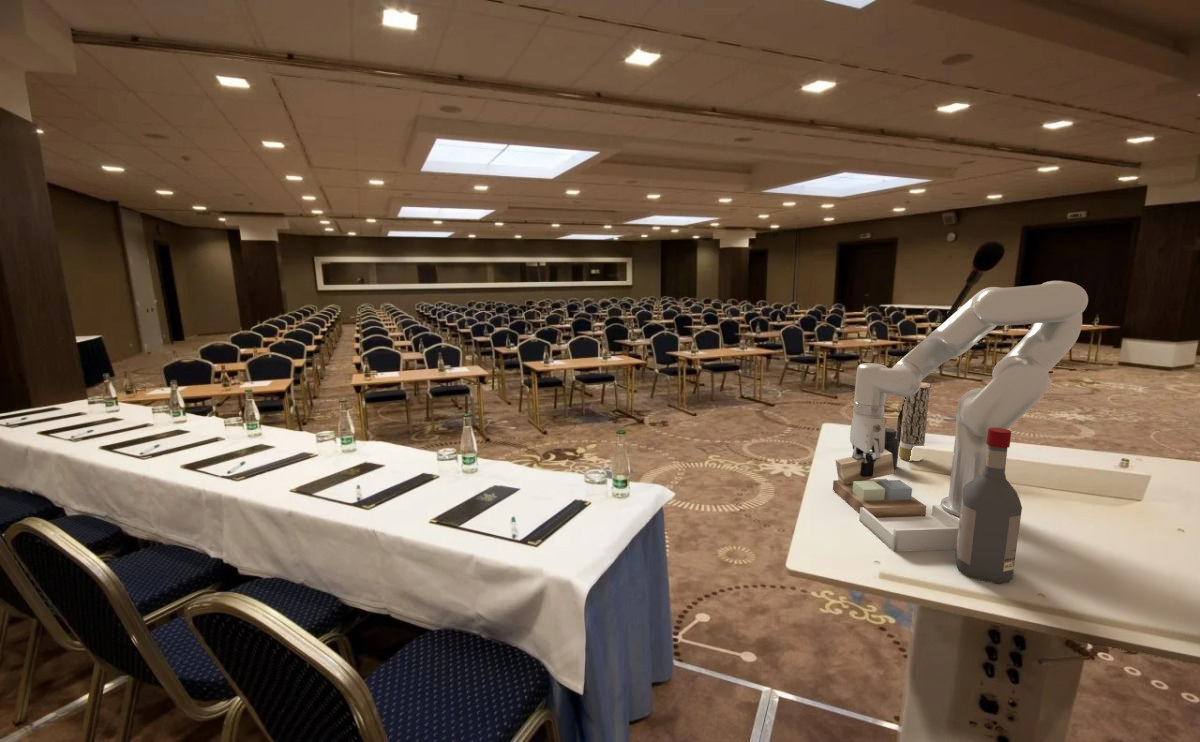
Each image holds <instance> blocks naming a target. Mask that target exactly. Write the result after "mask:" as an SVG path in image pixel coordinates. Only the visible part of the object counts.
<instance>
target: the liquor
mask: <svg viewBox="0 0 1200 742" xmlns="http://www.w3.org/2000/svg"><path fill="white" fill-rule="evenodd" d="M1011 436H1012V430H1010V429H1003V428H994V427H993V428H989V429H988V435H987V442H986V444H987V445H988V449H987V457H986V464H985V468H984V470H983V474H981V475H980V476H978V477H976V478H975V479H973V480H972V481H970V482H969V483H967V484H966V485H965V487H964V488H963V494H962V503H961V511H960V517H959V519H958V520H959V529H958V538H957V547H956V550H955V561H956V568H957V570H958V572H960V573H962V574H963V575H965V576H966V577H968V578H970V579H974V580H980V581H983V582H989V583H991V584H996V585H1002V584H1007V583H1010V582H1011V581H1012V580H1013V578H1014V570H1015V563H1016V555H1017V548H1018V547H1017V546H1018V542H1019V533H1020V528H1021V527H1020V526H1021V519H1022V511H1023V507H1022V502H1021V500H1020V496H1019V495H1018V492H1017V491H1016V490H1015V488H1014V487H1013V486H1012V484H1011V483H1010V482H1009V480H1008V479H1007V475H1006V466H1007V465H1006V464H1007V456H1008V448H1010V445H1011V438H1012V437H1011Z"/></svg>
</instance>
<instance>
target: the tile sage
mask: <svg viewBox="0 0 1200 742" xmlns="http://www.w3.org/2000/svg"><path fill="white" fill-rule="evenodd" d="M852 492H853V493H854V494H855V495H857V496H858V497H859V498H860V499H862V500H863V501H872V500H884V497H885V489H884V488H883V487H882V486H880V485H879V484H877V483H876V482H875V481H853V491H852Z"/></svg>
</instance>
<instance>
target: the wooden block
mask: <svg viewBox="0 0 1200 742" xmlns="http://www.w3.org/2000/svg"><path fill="white" fill-rule="evenodd" d="M869 456H871V454H868V457H869ZM868 457H867V458H868ZM862 462H863V453H860V454H856V455H853V454H852V455H851V456H849V457H844V458H839V459H835V464H836V465H835V466H836V471H837V472H836V474H837V480H839V481H840V482H842V483H843V484H844V485H846V484H851V483H853V481H864V480H869V479H879V478H881V477H882V478H883V477H886V476H891V475H894V474H895V469H894V466H893V458H892V453H890V452H889V451H887V450H885V449H884V452H883V453H880V459H877V460H876V461H875V463H874V469H873V476H872V477H862V476H861V475H860V474H861V463H862Z"/></svg>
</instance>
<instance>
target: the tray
mask: <svg viewBox="0 0 1200 742" xmlns="http://www.w3.org/2000/svg"><path fill="white" fill-rule="evenodd" d="M959 520H960V519H958V518H956V517H955V516H953V514H951V513H949V512H948V511H946V510H945V509H943V508H941V507H939V506H938V505H936V504H932V507H931V515H925V516H917V517H886V518H876V517H875V516H873V515H872V514H871V513H870V512H869V511H867V510H866V509H865V508H864V507H860V514H859V522H860V523H861V524H862V525H863V526H865V528H867V529H868V530H869V531H870V532H872V534H874V535H875V536H876V537H877V538H878V539H879V540H880V541H882V542H883V544H885V545H886V546H887V547H888V548H889V549H890V550H891V551H892V552H894V553H897V552H898V553H899V552H924V551H950V550H951V551H952V550H953V551H954V550H955V551H956V547H957V538H958V529H959Z"/></svg>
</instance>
